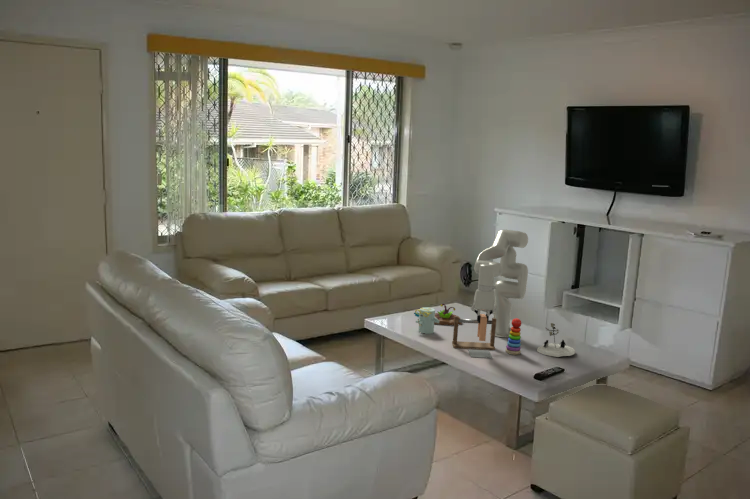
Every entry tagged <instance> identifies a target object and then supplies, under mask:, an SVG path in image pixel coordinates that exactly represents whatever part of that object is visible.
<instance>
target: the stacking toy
mask: <svg viewBox="0 0 750 499" xmlns="http://www.w3.org/2000/svg"><path fill="white" fill-rule="evenodd" d="M521 326H522V320H521V319H520V318H513V319H512V320H511V327H510V328H511V331H510V335H509V337H507V343H506V346H505V347H506V348H505V353H506V354H508V355H511V356H518V355H521V353H522V351H521V349H522V347H521V346H522V344H521V342H522V340H521Z"/></svg>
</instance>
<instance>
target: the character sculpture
mask: <svg viewBox="0 0 750 499" xmlns="http://www.w3.org/2000/svg"><path fill="white" fill-rule="evenodd" d="M435 313H436V309H435V308H433V307H428V306H427V307H420V308H419V309H415V311H414V312H413V315H414V316H415V317H417V320H415V323H416V324H418V332H419V333H420V332H421V333H420V334H423V333H425V334H424V335H431V333H432V334H434V331H435V324H434V321H435V323H438V324H439V322H440V321H439V320H438V319H437V318H435Z"/></svg>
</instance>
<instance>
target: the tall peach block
mask: <svg viewBox="0 0 750 499" xmlns="http://www.w3.org/2000/svg"><path fill="white" fill-rule="evenodd" d="M485 315H486V314H485V313H480V316H481V317H480V323H478V324H477V336H476V337H477V338H478V341H479V342H486V338H487V337H486V336H487V325H488V324H487V317H486V316H485Z"/></svg>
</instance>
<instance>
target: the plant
mask: <svg viewBox="0 0 750 499" xmlns="http://www.w3.org/2000/svg"><path fill="white" fill-rule="evenodd" d="M443 306H444V309H443V310H439V311H437V312H435V318H437V319H438V320H439V321H440V322H439V324H438V323H435V321H434V325H437V326H438V325H439V326H450V325H452V326H454V318H455V316H457V315H456V314H453V312H454V311H456V308H455V307H453V306H449V307H448V308H447V306H446V304H445V303H441V304H440V307H443ZM451 309H452V311H450V310H451ZM459 319H461V317H460V316H459ZM458 324H459V325H462V324H463V323H458ZM459 325H458V326H459Z"/></svg>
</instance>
